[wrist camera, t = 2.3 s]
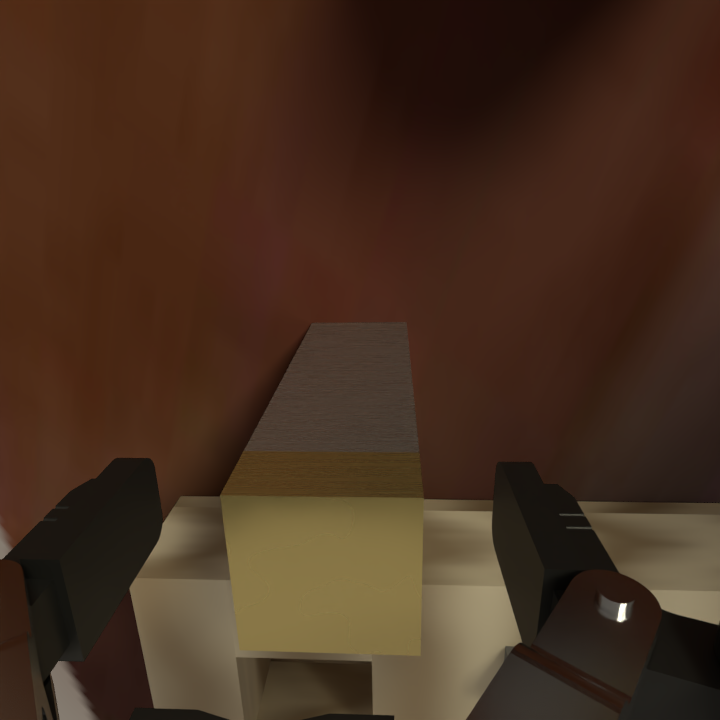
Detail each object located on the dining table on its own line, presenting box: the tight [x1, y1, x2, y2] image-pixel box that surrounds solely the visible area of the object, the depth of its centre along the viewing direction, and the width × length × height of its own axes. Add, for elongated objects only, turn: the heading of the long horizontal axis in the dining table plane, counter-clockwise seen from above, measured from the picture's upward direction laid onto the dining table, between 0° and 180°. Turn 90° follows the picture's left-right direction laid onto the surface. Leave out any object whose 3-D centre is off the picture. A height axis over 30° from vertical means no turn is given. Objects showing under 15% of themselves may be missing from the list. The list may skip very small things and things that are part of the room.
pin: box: [220, 322, 424, 656], centre depth 15 cm, size 4×4×12 cm
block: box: [130, 496, 720, 720], centre depth 21 cm, size 24×12×7 cm, turn 91°
